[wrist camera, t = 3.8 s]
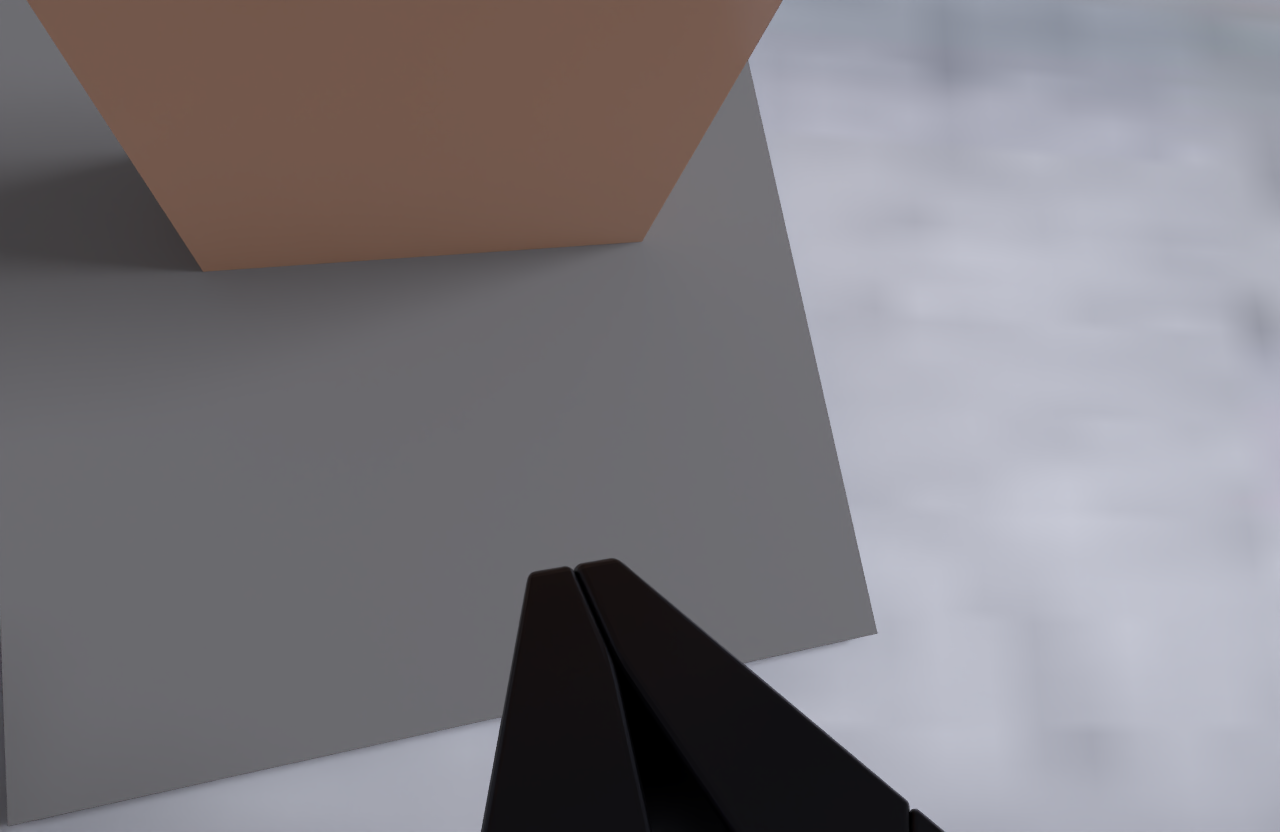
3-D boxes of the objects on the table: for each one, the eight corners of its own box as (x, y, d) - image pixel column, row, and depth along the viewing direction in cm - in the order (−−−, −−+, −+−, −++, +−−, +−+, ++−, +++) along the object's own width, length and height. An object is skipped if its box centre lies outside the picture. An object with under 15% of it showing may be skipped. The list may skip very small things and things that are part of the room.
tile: (203, 271, 18) (-39, -101, 9) (192, 146, 19) (-47, -331, 9) (641, 241, 21) (821, -66, 11) (621, 133, 21) (775, -246, 12)
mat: (864, 632, 21) (877, 633, 20) (22, 818, 16) (7, 826, 15) (690, -152, 25) (696, -169, 24) (-18, -200, 20) (-31, -224, 19)
